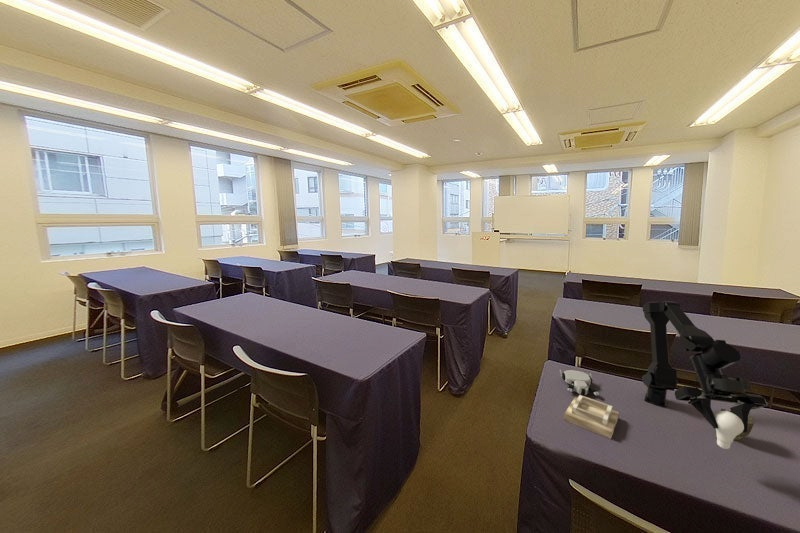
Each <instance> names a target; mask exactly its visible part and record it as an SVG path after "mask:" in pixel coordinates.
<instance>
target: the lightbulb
mask: <svg viewBox="0 0 800 533" xmlns="http://www.w3.org/2000/svg"><path fill="white" fill-rule="evenodd" d="M728 411H729V410H726V411H720V410H718V411H716V412H713V414H714V417H715V419H716V422H717V426H718V428H717V429H715V432H716V438H717V439H716V444H717V445H718V446H719V447H720V448H721V449H724V450H725V449H726V450H730V449H731V445H732V444H733V442H734V440H733V439H734V438H735V437H736V436H737V435H739V434H740V433H742V431H743V430H744V424H743V422H742V420H741V419H740V418H739V417H738V416H737V415H735V414H733V413H731V412H730V411H729V412H728Z"/></svg>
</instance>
